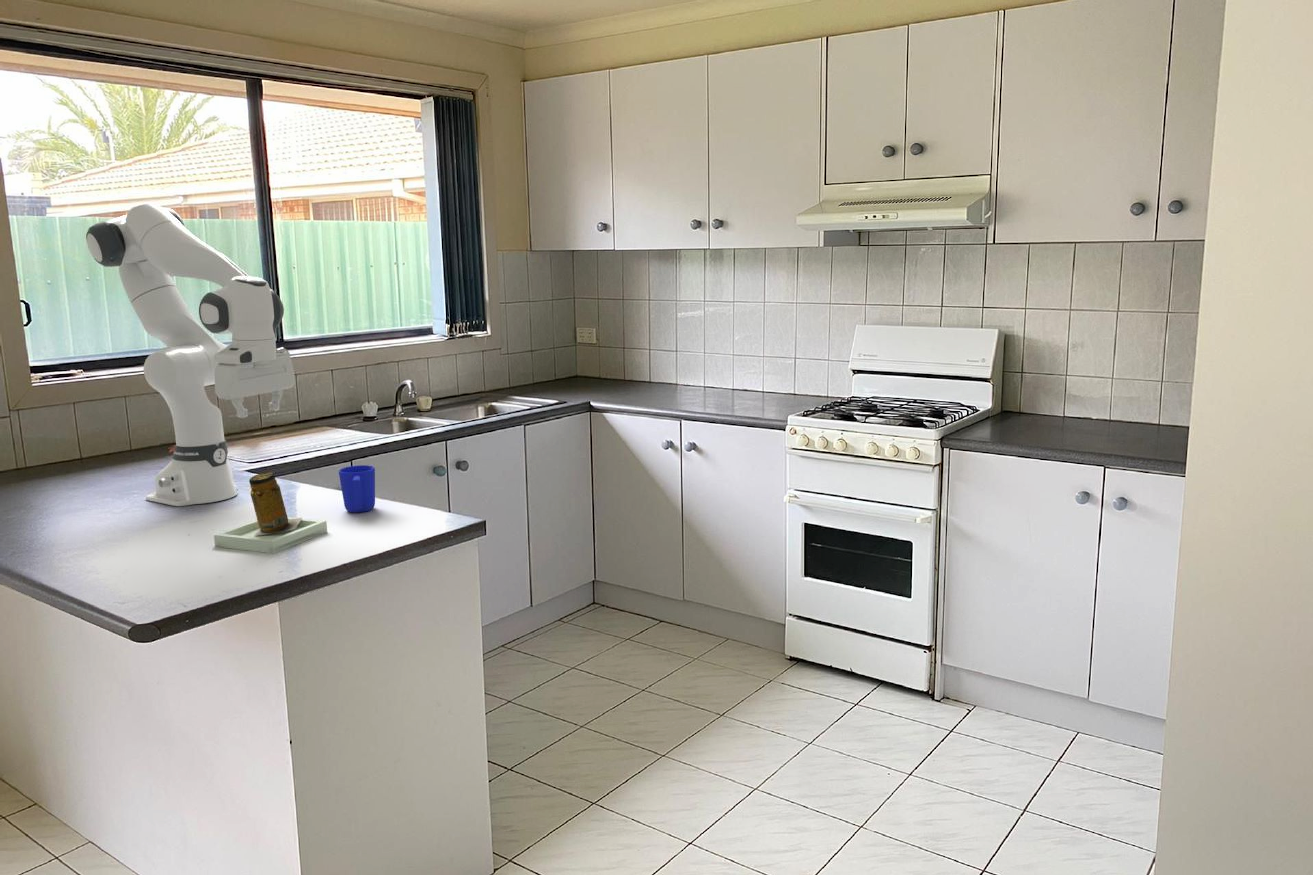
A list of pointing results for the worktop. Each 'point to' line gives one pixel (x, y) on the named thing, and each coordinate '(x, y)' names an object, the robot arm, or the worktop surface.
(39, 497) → the worktop surface
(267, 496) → the condiment
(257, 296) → the robot arm
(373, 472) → the mug
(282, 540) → the tray
